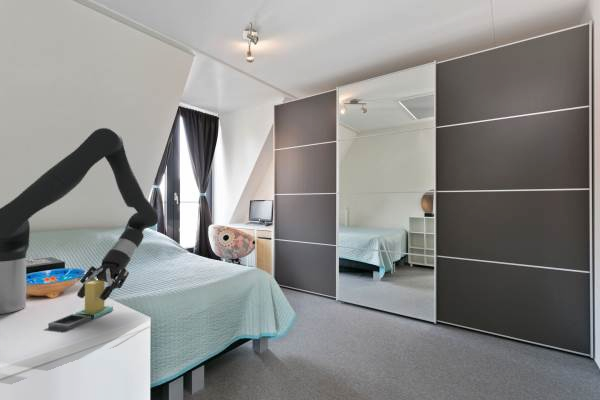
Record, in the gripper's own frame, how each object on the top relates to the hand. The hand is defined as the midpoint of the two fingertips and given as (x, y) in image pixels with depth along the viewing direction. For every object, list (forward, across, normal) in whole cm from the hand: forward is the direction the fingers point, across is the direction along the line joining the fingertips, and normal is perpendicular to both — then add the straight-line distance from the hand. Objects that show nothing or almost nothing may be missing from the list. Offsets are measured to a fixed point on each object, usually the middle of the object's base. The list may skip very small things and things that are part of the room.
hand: (90, 298), depth 93 cm
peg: (+3, 0, +5) cm, 6 cm away
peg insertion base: (+7, 0, +2) cm, 7 cm away
